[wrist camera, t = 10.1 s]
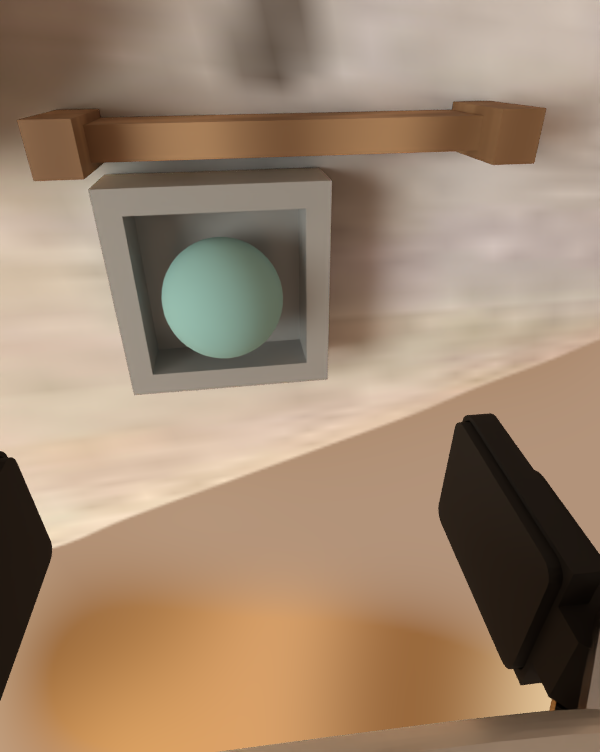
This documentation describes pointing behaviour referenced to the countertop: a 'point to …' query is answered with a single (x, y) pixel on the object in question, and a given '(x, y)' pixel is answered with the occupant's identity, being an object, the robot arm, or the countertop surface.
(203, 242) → the ball
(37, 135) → the rail
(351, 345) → the countertop surface
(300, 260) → the dish
